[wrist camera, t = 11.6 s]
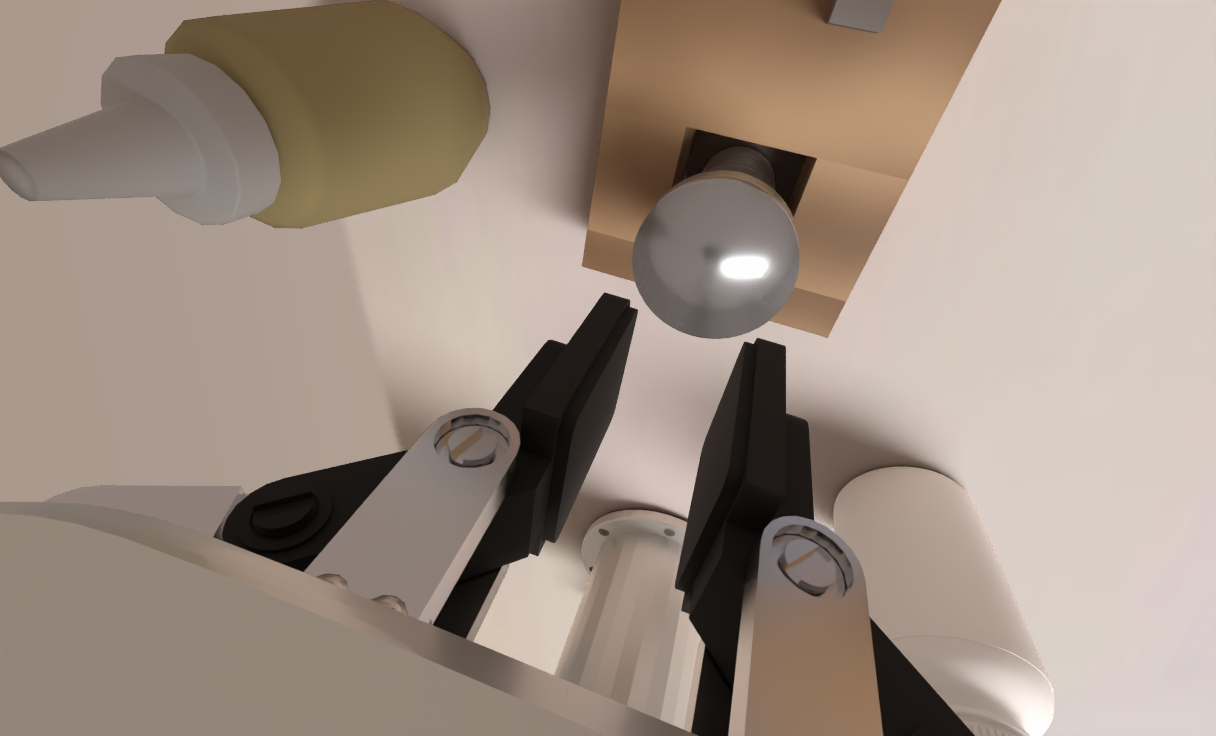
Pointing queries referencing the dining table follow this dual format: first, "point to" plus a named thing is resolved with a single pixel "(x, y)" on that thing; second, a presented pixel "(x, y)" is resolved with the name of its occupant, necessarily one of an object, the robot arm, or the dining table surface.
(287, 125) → the squeeze bottle
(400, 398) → the dining table surface
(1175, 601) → the dining table surface
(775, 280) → the steel pin
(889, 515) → the pill bottle
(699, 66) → the block
